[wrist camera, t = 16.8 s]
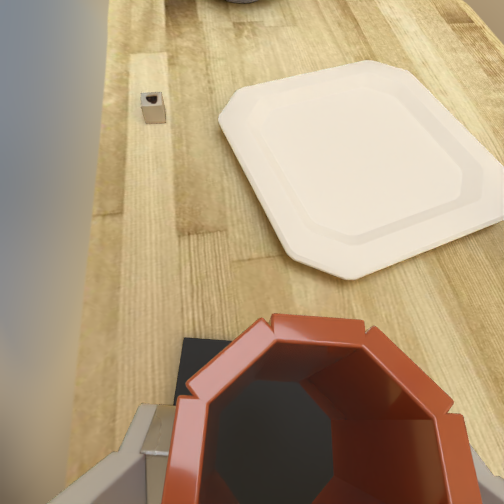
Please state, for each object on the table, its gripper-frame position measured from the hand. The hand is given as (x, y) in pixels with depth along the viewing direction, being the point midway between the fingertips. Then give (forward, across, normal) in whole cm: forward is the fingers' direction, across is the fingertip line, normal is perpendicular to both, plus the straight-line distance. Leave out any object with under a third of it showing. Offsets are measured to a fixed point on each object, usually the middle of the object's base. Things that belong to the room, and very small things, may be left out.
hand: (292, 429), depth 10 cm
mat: (+10, 0, +10) cm, 14 cm away
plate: (+28, -9, -8) cm, 31 cm away
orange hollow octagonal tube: (+3, 0, +4) cm, 5 cm away
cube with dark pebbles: (+31, +13, -10) cm, 35 cm away
